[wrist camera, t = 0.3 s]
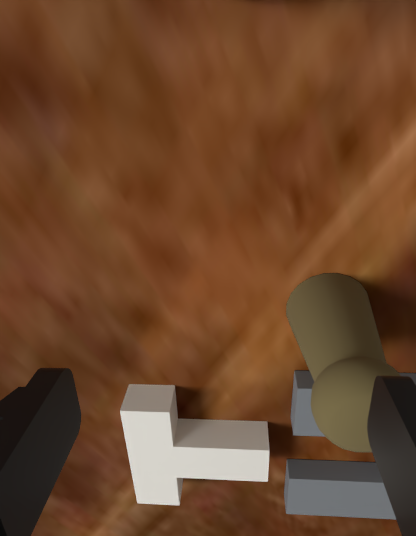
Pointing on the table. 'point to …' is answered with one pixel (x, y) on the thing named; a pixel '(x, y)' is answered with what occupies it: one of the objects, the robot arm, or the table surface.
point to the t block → (186, 446)
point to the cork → (338, 354)
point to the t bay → (330, 472)
